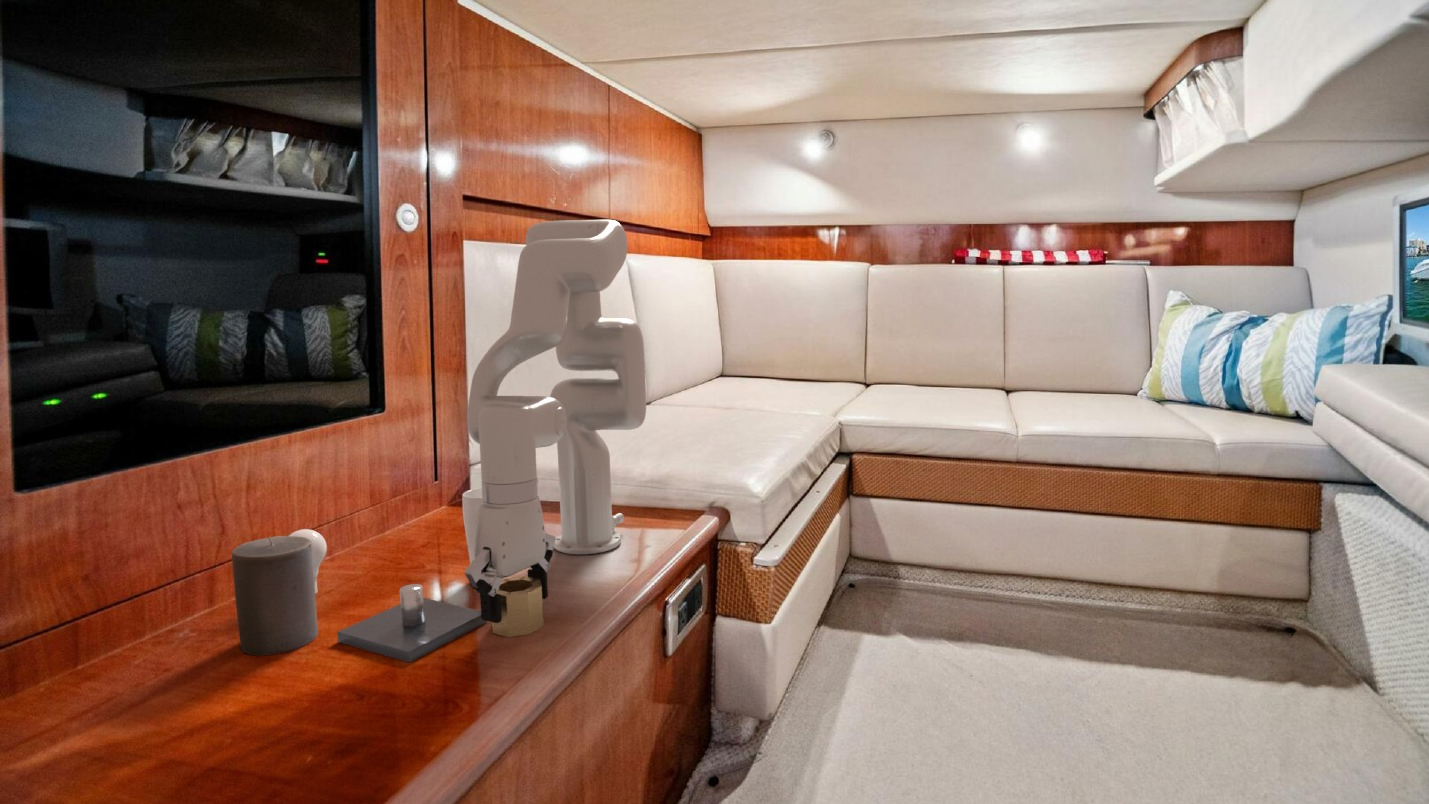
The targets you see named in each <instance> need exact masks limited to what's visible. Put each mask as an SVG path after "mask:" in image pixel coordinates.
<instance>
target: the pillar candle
mask: <svg viewBox="0 0 1429 804" xmlns="http://www.w3.org/2000/svg"><path fill="white" fill-rule="evenodd" d="M311 543H312V541H311V540H309V539H307V538H305V537H297V536H289V535H283V536H282V535H278V536H272V537H271V536H268V537H265V538H260V539H255V540H252V541H248V542H244V543H241V544H240V545H237V546H236V547H235V548H233V549H232V551H231V559H232V560H231V561H232V562H231V564H232V574H233V575H232V576H233V584H234V596H235V608H236V617H237V618H236V619H237V627H238V636H239V643H240V645H239V649H240V651H241V652H242V653H244V654H247V655H251V656H270V655H277V654H283V653H286V652H291V651H295V650H298V649H300V648H302V647H304V646H306V645H308V644H310V643H311V642H313V641H314V640H315V639H316V638H317V637H318V634H319V631H318V630H319V628H318V627H319V626H318V617H317V615H318V614H317V600H316V594H315V586H314V574H313V562H312V548H311Z"/></svg>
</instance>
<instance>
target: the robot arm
mask: <svg viewBox="0 0 1429 804" xmlns="http://www.w3.org/2000/svg"><path fill="white" fill-rule="evenodd" d="M525 234H526V235H525V246H523V248H522V249H521V252H520V254H519V257H518V265H517V273H516V279H515V280H516V281H515V285H514V292H513V293H514V295H513V300H512V302H513V303H512V309H511V315H510V323H509V327H508V330H506V331H505V333H504V334H503V335H501V337H499V338H497V340H496V341H495V342H494V343H493V344H492V346H490V347H489V349H488V350H487V351H486V353H485V354H484V355H483V357H482V359H481V360H480V361H479V363H478V365H477V366H476V368H475V370H474V373H473V376H472V379H471V385H470V391H469V397H468V406H467V414H466V416H467V418H466V421H467V422H466V423H467V424H466V425H467V429H468V433H469V436H470V438H471V439H472V440H473V441H474V442H475V443H477V444H478V445H479V454H480V455H479V457H480V475H481V478H480V479H481V488H482V498H483V504H482V505H480V506H479V509H478V514H477V521H476V533H475V559H474V560H473V562H472V563H471V564H469V565H468V566H467V567H466V568H465V569H464V575H465V577H466V579H467V580H468V582H469V586H470V587H471V588H472V589H473V590H474V591H475V593H476V594H479V599H480V600H479V601H480V611H481V618H482V620H485V621H487V622H490V623H492V622H493V623H499V622H501V620H502V615H501V596H500V594H496V593H497V591H498V589H499V586H500V584H501V582H502V580H503V579H505V578H509V577H510V576H512V575H515V574H517V573H519V572H522V571H524V570H527V569H528V568H529V569H528V570H527V577H531V578H536V579H540V582H541V586H542V600H546V599H548V598H549V592H548V591H549V589H548V588H549V587H548V571H549V570H550V567H551V565H550V562H551V560H552V557H553V555H554V551H553V550H554V549H555V550H556V551H558V552H560V553H563V554H568V555H593V554H599V553H605V552H609V551H611V550H613V549H615V548H617V547H618V546H620V545H621V543H622V536H621V535H620V533H618V532H616V531H615V528H616V526H617V525H619V524H621V523H623V522H624V521H625V516H624V514H623V513H620V512H619V513H616V514H612V513H613V509H612V508H613V507H612V486H611V485H612V484H611V481H612V480H611V456H610V452H609V448H608V445H607V444H606V442H605V440H604V439H603V438H602V437H601V435H600V434H599V433H598V431H604V430H605V431H613V430H614V431H616V430H617V431H621V430H622V431H623V430H624V431H629V430H635V429H638V428H640V427H641V426H642V425H643V423H644V422H645V419H646V414H647V389H646V385H647V384H646V366H645V365H646V364H645V363H646V362H645V347H644V346H645V344H644V343H645V342H644V337H643V333H642V330H641V328H640V326H639V325H638V323H636V322H635V321H634V320H632V319H629V318H622V317H621V318H620V317H615V318H604V317H603V316H602V310H601V309H602V306H601V292H603V291H606V289H608V288H609V287H610V286H611V285H612V282H613V281H614V279H615V278H616V277H617V276H618V274H619V272H620V271H621V269H622V267H623V266H624V264H625V261H626V259H627V258H626V257H627V255H628V246H629V245H628V237H627V234H626V231H625V229H624V227H623V226H622V224H620V222H618V221H616V220H612V219H585V220H584V219H581V220H579V219H578V220H577V219H576V220H575V219H573V220H571V219H569V220H568V219H567V220H565V219H564V220H563V219H562V220H550V221H549V220H548V221H542V222H537V223H535V224H533V225H531V226H530V227H528V229H527V231H526V233H525ZM553 348H555V353H556V358H557V359H556V360H557V361H558V365H560V366H561V367H562V368H563V369H565V370H570V371H574V372H575V371H576V372H577V371H578V372H587V371H588V372H615V373H616V374H617V377H609V378H608V377H604V378H603V377H573V378H567V379H563V380H562V381H559V382H558V383H556V384H555V385H554V386H553V387H552V390H551V392H550V396H546V395H545V396H543V395H498V392H499V389H500V386H501V385H502V382H503V380H504V379H505V378H506V376H508V374H510V372H511V371H512V370H514V369H515V368H516V367H517V366H519V365H521V364H522V363H524V362H526V361H528V360H530V359H532V358H534V357H536V356H538V355H541V354H543V353H545V352H546V351H547V352H548V351H549V350H551V349H553ZM555 444H556V447H557V459H558V460H557V466H558V485H559V507H560V508H559V512H560V527H561V528H560V531H561V532H560V533H561V534H559V535H557V536H555V535H552V534H549V533H547V532H546V531H545V530H546V529H545V522H544V515H543V509H542V504H541V500H540V496H538V495H539V494H538V483H539V480H538V477H537V475H538V474H537V451H536V450H537V449H538V448H546V447H550V446H553V445H555ZM493 570H496V572H494V571H493ZM481 574H482V576H481ZM490 577H492V578H493V581H492V583H491V584H488V581H489V579H490Z"/></svg>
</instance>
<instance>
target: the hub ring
mask: <svg viewBox="0 0 1429 804" xmlns="http://www.w3.org/2000/svg"><path fill="white" fill-rule="evenodd" d="M496 594H500V596H501V615H502V620H501V622H499V623H493V622H491V624H492V634H494V635H495V634H496V635H498V636H502V637H507V638H512V637H518V636H526V635H531V634H533V633H534V632H536V631H538V630H539V629H541V628H543V627H544V607H543V599H542V586H541V582H540V579H536V578H531V577H528V576H524V575H523V576H517V577H516V576H515V577H505V578H503V580H502V582H501V584H500V586H499V589H498V591H497V593H496Z"/></svg>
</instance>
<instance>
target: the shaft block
mask: <svg viewBox="0 0 1429 804" xmlns="http://www.w3.org/2000/svg"><path fill="white" fill-rule="evenodd" d="M399 597H400V604H398V605H397V604H396V605H395V606H393V607H390V608H387V609H386V610H384V611H382V612H380V613H377V614H374V615H372V616H370V617H368V618H365V619H363V620H360V621H358V622H356V623H354V624H352V625H350V626H347V627H345V628H343V629H341V630H338V631H337V642H338V643H340V644H343V645H348V646H351V647H354V648H357V649H361V650H364V651H367V652H372V653H375V654H379V655H381V656H382V655H383V656H385V657H388V658H393V659H396V660H400V661H402V662H406V663H411V662H412V663H413V661H416V660H417V659H419V658H421V657H424V656H425V655H427V654H429V653H431V652H433V651H435V650H437V649H438V648H440V647H442V646H444V645H445V644H448V643H450V642H451V641H453V640H456V639H458V638H459V637H461V636H463V635H465V634H467V633H468V632H470V631H472V630H475V629H476V628H478V627H481V626H482V625H484V624H486V623H487V622H488V621H485V620H482V618H481V610H478V609H474V608H470V607H465V606H461V605H458V604H457V605H456V604H452V603H448V602H444V601H439V600H434V599H432V598H431V599H430V598H425V597H424V589H423V585H422V584H419V583H414V584H413V583H412V584H407V585H404V586H402V587H400V588H399Z"/></svg>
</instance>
